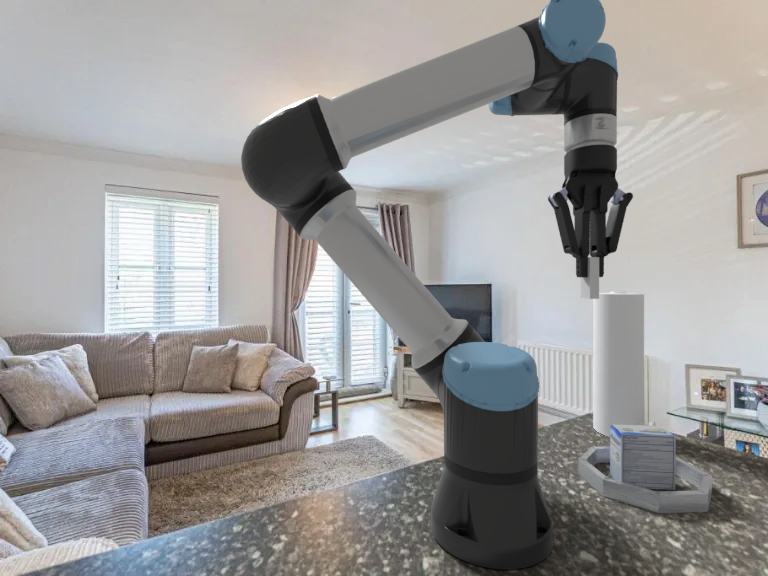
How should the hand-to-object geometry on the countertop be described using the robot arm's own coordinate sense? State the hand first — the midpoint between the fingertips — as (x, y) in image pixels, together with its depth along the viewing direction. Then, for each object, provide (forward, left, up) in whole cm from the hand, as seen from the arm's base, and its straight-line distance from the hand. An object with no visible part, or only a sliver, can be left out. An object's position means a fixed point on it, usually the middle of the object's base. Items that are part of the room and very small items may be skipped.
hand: (589, 298), depth 66 cm
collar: (+8, -1, -29) cm, 30 cm away
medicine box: (+8, -1, -30) cm, 31 cm away
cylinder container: (+18, +21, -30) cm, 41 cm away
